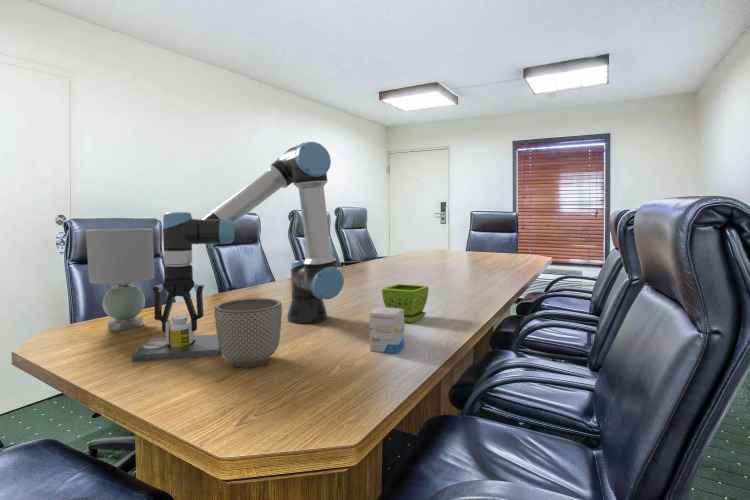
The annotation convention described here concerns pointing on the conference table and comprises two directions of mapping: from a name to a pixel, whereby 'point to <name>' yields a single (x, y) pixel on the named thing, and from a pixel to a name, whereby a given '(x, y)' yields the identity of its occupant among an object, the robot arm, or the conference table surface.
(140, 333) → the conference table surface
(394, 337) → the ink box
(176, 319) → the supplement bottle
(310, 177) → the robot arm
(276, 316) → the planter
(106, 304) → the lamp
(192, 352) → the housing plate
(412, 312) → the flower pot
